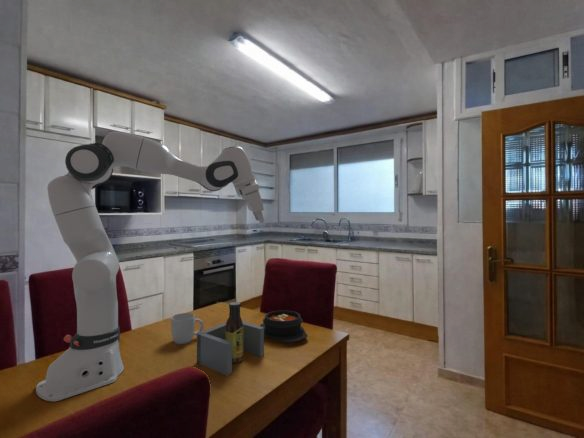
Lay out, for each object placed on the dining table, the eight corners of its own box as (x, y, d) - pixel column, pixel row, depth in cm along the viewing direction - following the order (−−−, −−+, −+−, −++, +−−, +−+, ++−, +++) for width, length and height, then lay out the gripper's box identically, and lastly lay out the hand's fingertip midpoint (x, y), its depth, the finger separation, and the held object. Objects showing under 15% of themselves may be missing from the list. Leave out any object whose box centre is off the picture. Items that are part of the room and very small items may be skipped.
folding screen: (227, 375, 98) (227, 344, 98) (196, 362, 107) (196, 333, 106) (263, 354, 113) (264, 327, 113) (234, 344, 121) (234, 319, 121)
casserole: (318, 340, 126) (318, 319, 126) (279, 351, 116) (279, 328, 116) (285, 322, 147) (285, 304, 147) (250, 330, 137) (250, 311, 137)
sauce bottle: (239, 365, 105) (239, 307, 105) (222, 363, 106) (222, 305, 106) (245, 356, 111) (246, 301, 111) (229, 354, 113) (229, 300, 112)
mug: (173, 347, 118) (173, 321, 118) (169, 339, 126) (169, 315, 126) (206, 340, 125) (206, 316, 125) (200, 333, 133) (200, 310, 132)
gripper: (237, 190, 127) (249, 221, 130) (241, 190, 108) (256, 227, 110) (251, 185, 128) (263, 216, 131) (258, 184, 109) (272, 220, 111)
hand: (260, 221), depth 120 cm, fingers open, 8 cm apart
